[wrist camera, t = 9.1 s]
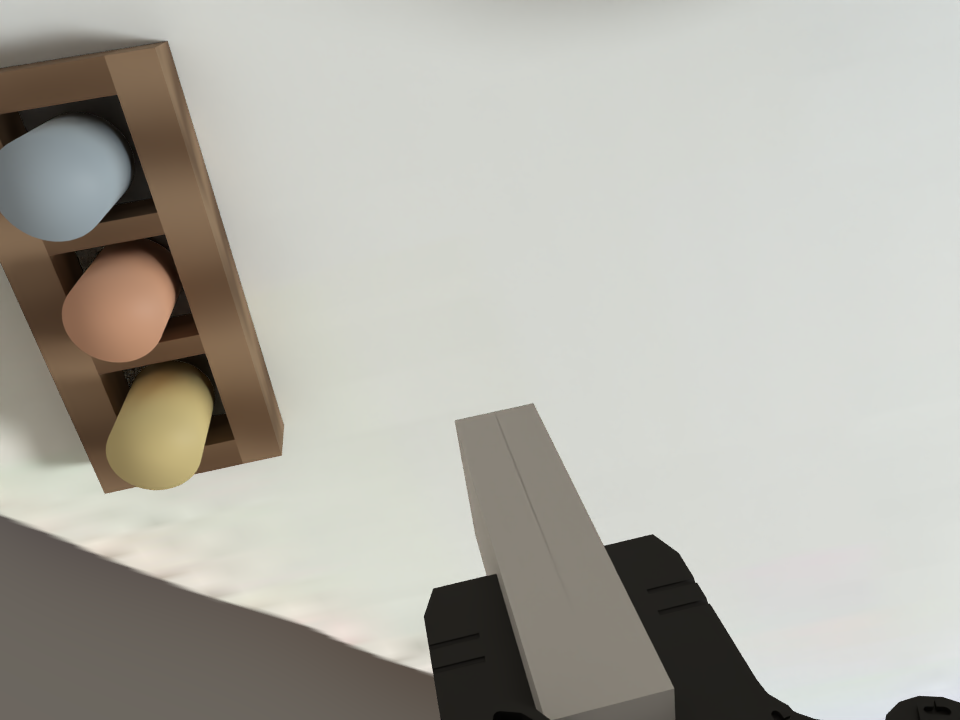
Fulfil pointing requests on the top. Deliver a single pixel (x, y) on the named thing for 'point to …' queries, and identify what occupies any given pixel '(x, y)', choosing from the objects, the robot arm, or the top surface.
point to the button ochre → (162, 426)
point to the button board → (171, 211)
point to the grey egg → (64, 176)
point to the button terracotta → (122, 301)
